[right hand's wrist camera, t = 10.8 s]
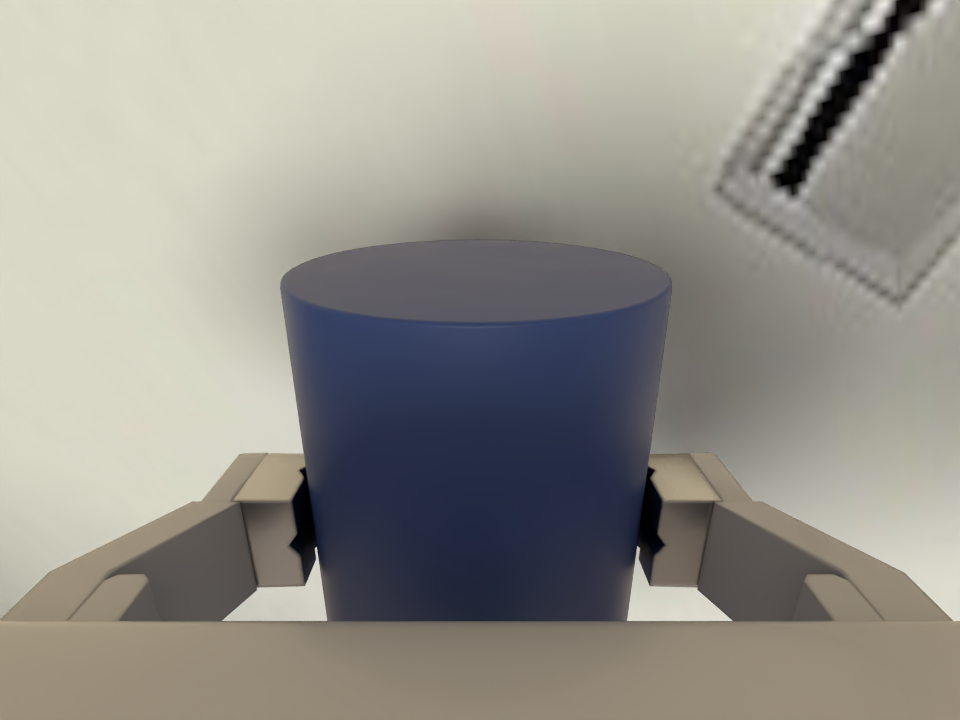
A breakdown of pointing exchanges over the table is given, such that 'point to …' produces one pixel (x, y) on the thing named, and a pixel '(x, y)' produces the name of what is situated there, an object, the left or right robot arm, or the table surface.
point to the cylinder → (476, 426)
